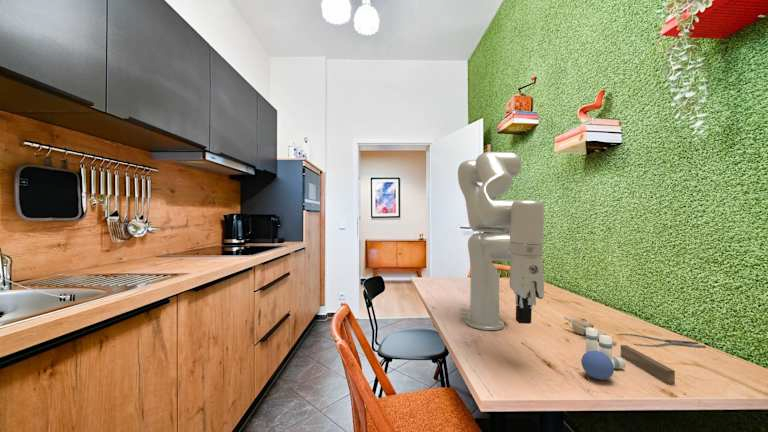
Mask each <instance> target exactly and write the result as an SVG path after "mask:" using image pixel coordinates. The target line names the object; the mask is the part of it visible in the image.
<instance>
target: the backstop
mask: <svg viewBox="0 0 768 432" xmlns="http://www.w3.org/2000/svg"><path fill="white" fill-rule="evenodd" d="M621 356H622V357H621ZM620 357H621V358H622V359H624V358H625V360H626V361H628V362H629V361H630V362H629V363H631V364H633V365H634V364H635V365H634V366H635V367H637V368H639V367H640V369H641V368H642V369H641V370H642V371H644V370H645V371H644V372H646V373H648V374H649V373H650V375H651V376H652V377H654V376H655V377H654V378H656V377H657V378H656V379H657V380H659V379H660V380H659V381H661V380H662V381H661V382H663V383H664V382H665V384H666V383H667V384H666V385H668V384H675V385H676V377H675V376H676V375H675V374H676V373H675V371H676V370H674V369H672V368H670V367H668V366H666V365H665V364H663V363H660V362H659V361H657V360H655V359H653V358H652V357H650V356H647V355H645V354H644V353H643V352H640V351H638V350H637V349H634V348H633V347H631V346H629V345H627V344H620Z"/></svg>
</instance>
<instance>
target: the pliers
mask: <svg viewBox="0 0 768 432" xmlns="http://www.w3.org/2000/svg"><path fill="white" fill-rule="evenodd" d="M618 335H619V336H633V337H638V338H644V339H650V340H653V341H659V342H664V343H659V344H642V343H636V342H635V343H633V345H634V346H641V347H649V348H651V347H652V348H654V347H655V348H659V347H669V346H678V347H679V346H681V347H686V348H687V347H688V348H695V349H696V348H699V349H700V348H701V349H703V348H705V349H706V348H707V346H706V345H700V344H699V341H697V342H696V341H688V340H677V339H662V338H657V337H651V336H647V335H646V336H645V335H640V334H632V333H618Z"/></svg>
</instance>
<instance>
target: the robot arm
mask: <svg viewBox="0 0 768 432" xmlns="http://www.w3.org/2000/svg"><path fill="white" fill-rule="evenodd" d="M521 170H522V160H521V158H520V155H518V154H517V153H515V152H511V151H486V152H482V153H481V154H479V155H478V156H477V157H476V159H469V160H465V161H462V162H461V163H460V164H459V166H458V169H457V181H458V185H459V188H460V190H461V192H462V195H463V197H464V200H465V206H466V211H467V212H466V213H467V219H468V224H469V228H470V229H471V230H472V231H474V232H476V233H474V234H472V235H470V237H469V238H468V241H467V250H468V257H469V264H470V267H469V270H470V273H469V274H470V286H469V287H470V291H469V292H470V295H469V296H470V297H469V298H470V299H469V300H470V302H469V303H470V304H469V306H470V307H469V308H464V307H460V309H459V314H460V315H462V316H466V317H465V324H466V325H467V326H469V327H471V328H474V329H477V330H483V331H499V330H502V329H504V328H505V322H504V321H502V320H501V319H500V273H499V269H498V268H497V267H496V266H495V264H494V263H493V261H494V262H495V261H503V262H505V261H510V266H509V288H510V289H511V290H512V291H513V293H514V295H515V321H516V322H517V323H518V324H532V310H533V307H534V306H536V305H537V300H536V299H537V298H538V299H539V300H543V299H544V297H545V275H544V273H545V272H544V264H543V252H544V251H543V248H544V226H545V225H544V221H545V220H544V219H545V206H544V203H543V202H542V201H540V200H528V199H527V200H526V199H525V200H523V199H494V198H497V197H499V196H501V195H504V194H505V193H507V192H508V191H509V190H510V188H511V187H512V186H513V179H514V178H516V177H517V176H518V175H519V174H520V173H521ZM479 183H481V184H482V185H480V184H479Z"/></svg>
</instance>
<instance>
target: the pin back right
mask: <svg viewBox="0 0 768 432" xmlns="http://www.w3.org/2000/svg"><path fill="white" fill-rule="evenodd" d="M612 341H613V338H612V336H611V335H608V334H607V335H602V334H601V335H599V341H598V348H599V349H598V351H600V352H602V353H604V354H605V355H607V356H608V357H609V358H610V359H611V361H612V357H613V345H612Z"/></svg>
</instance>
